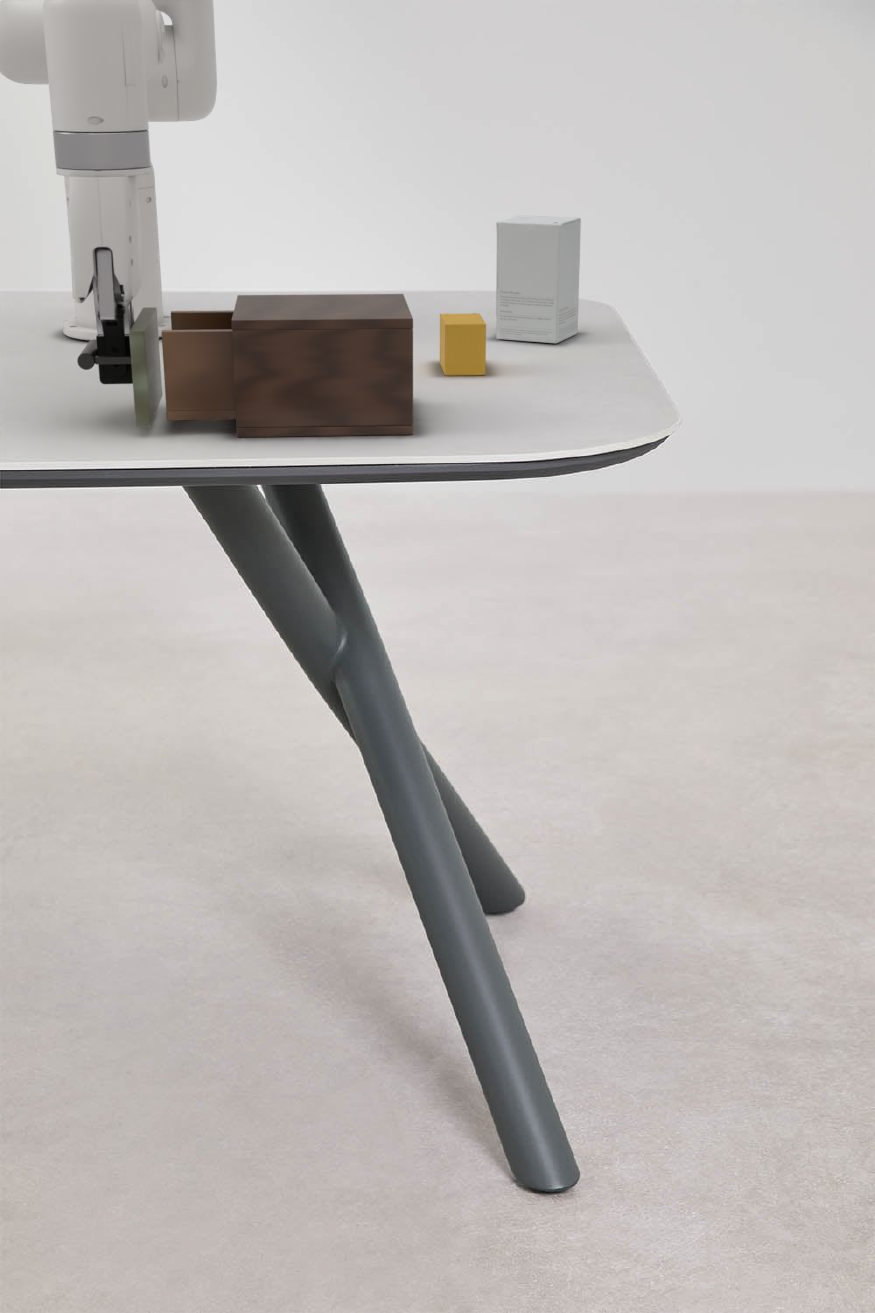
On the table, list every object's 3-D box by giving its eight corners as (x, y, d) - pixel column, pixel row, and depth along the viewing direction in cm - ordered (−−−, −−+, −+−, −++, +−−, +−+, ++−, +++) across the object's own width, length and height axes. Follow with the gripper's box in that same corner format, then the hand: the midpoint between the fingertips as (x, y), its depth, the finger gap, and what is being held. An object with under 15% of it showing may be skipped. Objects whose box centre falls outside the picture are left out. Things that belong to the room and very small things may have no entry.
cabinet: (236, 437, 124) (231, 320, 120) (242, 403, 135) (237, 294, 132) (413, 434, 125) (413, 318, 121) (403, 400, 136) (403, 293, 133)
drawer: (77, 427, 123) (69, 331, 120) (95, 396, 133) (88, 307, 130) (300, 424, 124) (297, 329, 121) (300, 393, 135) (297, 305, 132)
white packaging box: (579, 333, 168) (584, 216, 163) (556, 345, 161) (560, 223, 157) (518, 328, 170) (520, 213, 166) (493, 339, 164) (495, 220, 159)
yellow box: (439, 363, 152) (439, 313, 150) (478, 362, 152) (479, 313, 150) (444, 375, 147) (445, 324, 145) (485, 375, 147) (486, 323, 145)
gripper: (68, 148, 127) (86, 364, 134) (41, 161, 113) (63, 402, 120) (157, 148, 127) (171, 363, 134) (141, 161, 114) (157, 400, 121)
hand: (120, 381), depth 127 cm, fingers closed
